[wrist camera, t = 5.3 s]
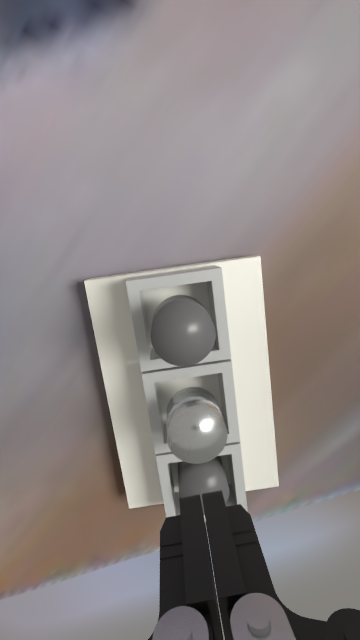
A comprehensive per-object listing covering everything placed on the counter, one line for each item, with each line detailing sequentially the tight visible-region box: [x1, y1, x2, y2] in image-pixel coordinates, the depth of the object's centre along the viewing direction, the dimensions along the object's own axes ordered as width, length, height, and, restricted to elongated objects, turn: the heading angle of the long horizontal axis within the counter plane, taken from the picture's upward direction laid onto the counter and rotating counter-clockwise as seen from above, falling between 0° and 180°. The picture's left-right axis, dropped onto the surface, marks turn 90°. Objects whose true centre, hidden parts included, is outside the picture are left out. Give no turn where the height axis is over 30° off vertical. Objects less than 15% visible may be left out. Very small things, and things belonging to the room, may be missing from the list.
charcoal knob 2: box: [178, 456, 229, 515], centre depth 29 cm, size 4×4×4 cm
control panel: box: [84, 255, 279, 522], centre depth 29 cm, size 14×21×5 cm, turn 8°
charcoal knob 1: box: [151, 295, 216, 366], centre depth 23 cm, size 4×4×4 cm
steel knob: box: [167, 387, 227, 464], centre depth 24 cm, size 4×4×4 cm
